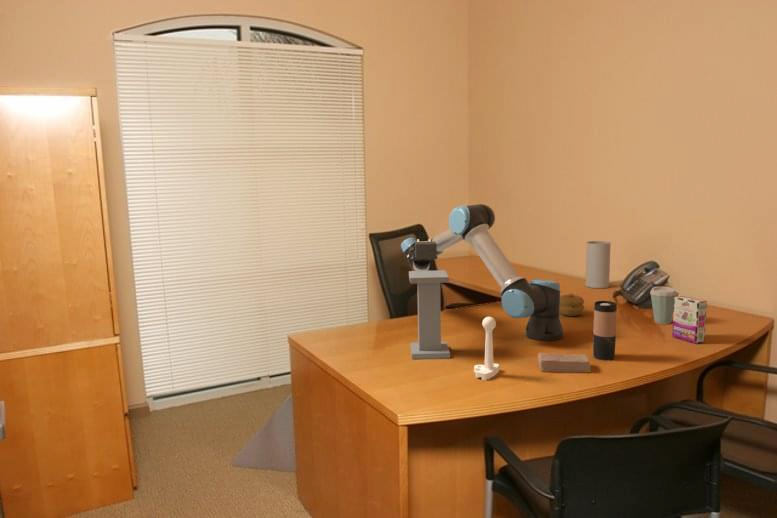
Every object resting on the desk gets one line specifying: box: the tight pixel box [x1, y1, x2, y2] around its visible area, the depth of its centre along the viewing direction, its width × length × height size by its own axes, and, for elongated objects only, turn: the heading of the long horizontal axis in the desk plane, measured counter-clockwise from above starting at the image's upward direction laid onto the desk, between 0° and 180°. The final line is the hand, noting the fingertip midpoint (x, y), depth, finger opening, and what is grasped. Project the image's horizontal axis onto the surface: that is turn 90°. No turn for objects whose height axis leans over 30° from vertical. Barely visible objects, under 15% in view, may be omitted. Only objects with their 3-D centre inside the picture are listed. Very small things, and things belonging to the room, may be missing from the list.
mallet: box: [415, 240, 438, 260], centre depth 239 cm, size 23×8×6 cm, turn 0°
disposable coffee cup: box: [649, 285, 678, 325], centre depth 254 cm, size 11×11×15 cm
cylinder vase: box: [585, 240, 612, 290], centre depth 329 cm, size 12×12×25 cm
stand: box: [408, 269, 451, 360], centre depth 221 cm, size 16×14×30 cm
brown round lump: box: [559, 293, 585, 317], centre depth 271 cm, size 12×12×10 cm
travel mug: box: [592, 300, 618, 361], centre depth 211 cm, size 8×8×20 cm
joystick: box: [473, 316, 500, 381], centre depth 197 cm, size 11×8×20 cm
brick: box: [537, 352, 591, 373], centre depth 202 cm, size 16×8×5 cm, turn 83°
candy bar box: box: [671, 295, 708, 345], centre depth 229 cm, size 11×5×16 cm, turn 23°
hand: (423, 242), depth 242 cm, fingers closed on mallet, 4 cm apart
